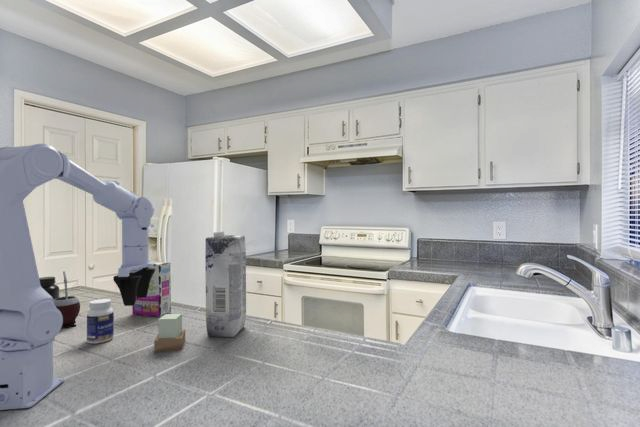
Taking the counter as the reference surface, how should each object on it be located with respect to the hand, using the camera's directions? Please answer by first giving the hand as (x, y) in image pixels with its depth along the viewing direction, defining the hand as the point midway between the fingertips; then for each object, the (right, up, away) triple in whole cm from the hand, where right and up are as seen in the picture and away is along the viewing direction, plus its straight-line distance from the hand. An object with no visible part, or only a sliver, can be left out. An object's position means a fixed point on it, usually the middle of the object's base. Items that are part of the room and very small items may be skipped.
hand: (135, 301), depth 84 cm
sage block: (+9, -8, -2) cm, 12 cm away
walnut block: (+9, -11, -2) cm, 14 cm away
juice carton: (+20, -10, +8) cm, 24 cm away
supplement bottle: (-42, -11, +24) cm, 50 cm away
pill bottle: (-10, -11, +3) cm, 15 cm away
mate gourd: (-28, -11, +14) cm, 33 cm away
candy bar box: (-8, -11, +25) cm, 29 cm away
